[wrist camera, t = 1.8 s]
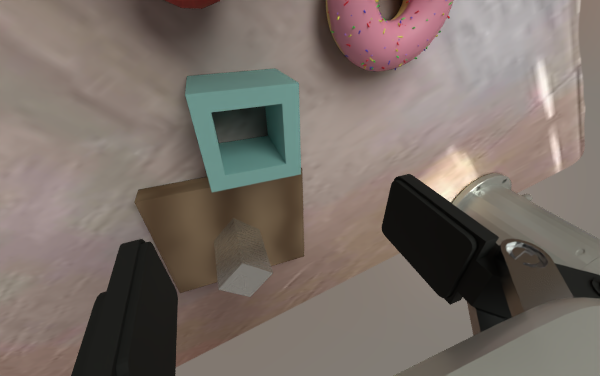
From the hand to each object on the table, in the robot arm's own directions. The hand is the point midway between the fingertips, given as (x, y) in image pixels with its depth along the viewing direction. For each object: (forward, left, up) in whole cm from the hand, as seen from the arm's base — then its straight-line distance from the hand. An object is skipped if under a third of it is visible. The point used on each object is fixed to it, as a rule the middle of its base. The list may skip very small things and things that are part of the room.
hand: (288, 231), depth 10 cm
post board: (+2, +12, -16) cm, 20 cm away
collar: (0, 0, -16) cm, 16 cm away
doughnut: (-13, -8, -16) cm, 22 cm away
